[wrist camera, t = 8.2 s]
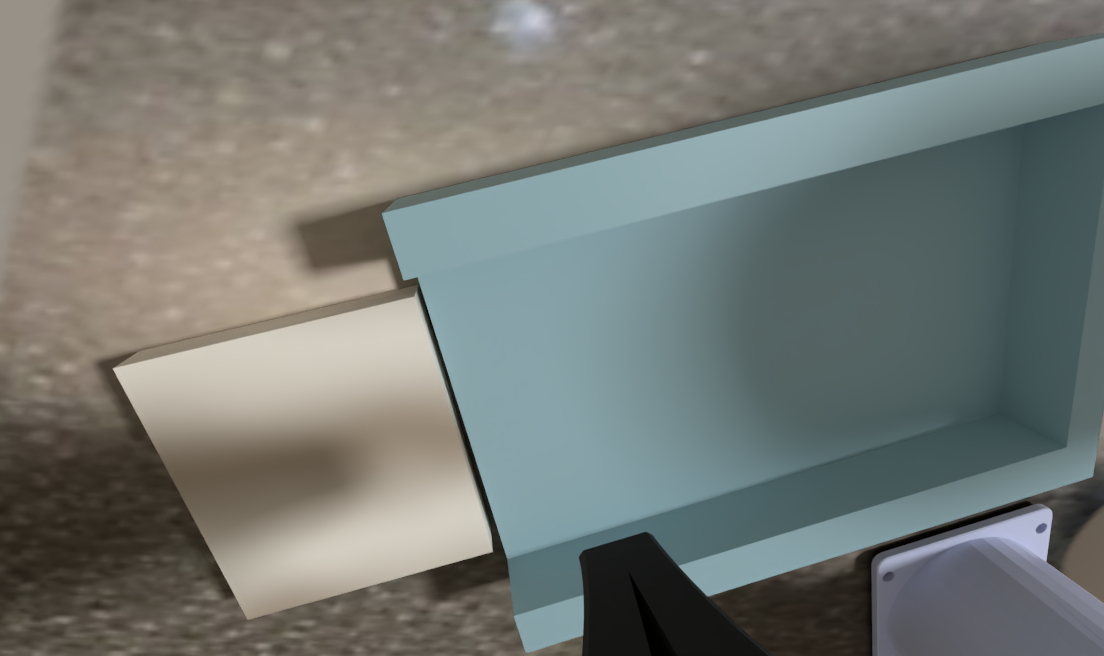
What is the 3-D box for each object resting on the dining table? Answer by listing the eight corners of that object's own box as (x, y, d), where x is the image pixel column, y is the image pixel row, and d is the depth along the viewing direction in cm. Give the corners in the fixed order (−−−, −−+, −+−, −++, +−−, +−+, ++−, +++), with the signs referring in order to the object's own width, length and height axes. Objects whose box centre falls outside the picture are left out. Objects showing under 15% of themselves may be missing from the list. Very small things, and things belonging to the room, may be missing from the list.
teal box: (1039, 43, 17) (1166, 22, 14) (1005, 430, 22) (1092, 476, 19) (396, 198, 15) (381, 213, 12) (516, 576, 20) (525, 653, 17)
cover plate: (489, 516, 20) (492, 551, 18) (266, 577, 19) (247, 620, 17) (419, 280, 17) (414, 296, 15) (149, 344, 16) (112, 368, 14)
